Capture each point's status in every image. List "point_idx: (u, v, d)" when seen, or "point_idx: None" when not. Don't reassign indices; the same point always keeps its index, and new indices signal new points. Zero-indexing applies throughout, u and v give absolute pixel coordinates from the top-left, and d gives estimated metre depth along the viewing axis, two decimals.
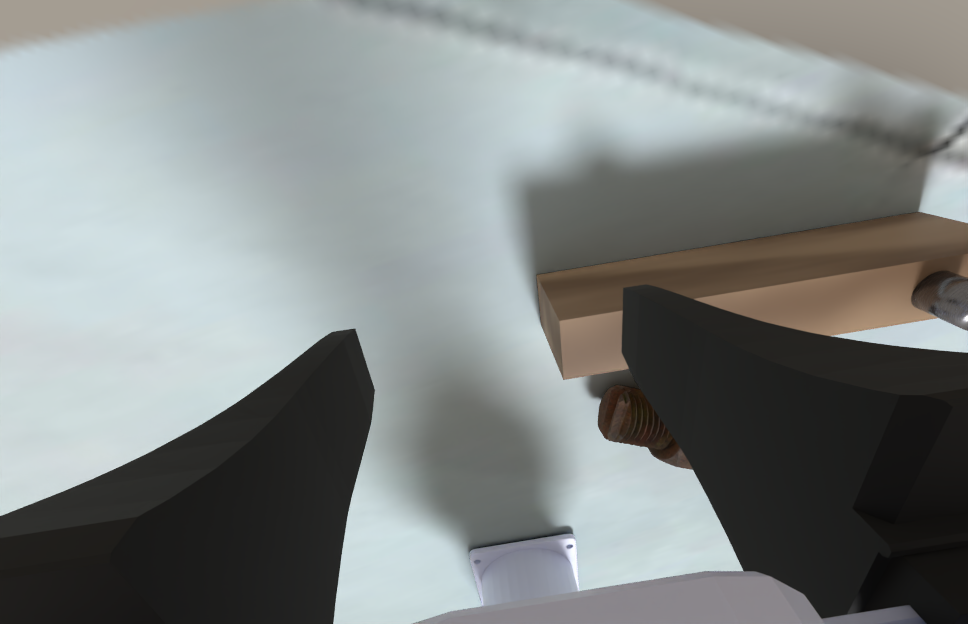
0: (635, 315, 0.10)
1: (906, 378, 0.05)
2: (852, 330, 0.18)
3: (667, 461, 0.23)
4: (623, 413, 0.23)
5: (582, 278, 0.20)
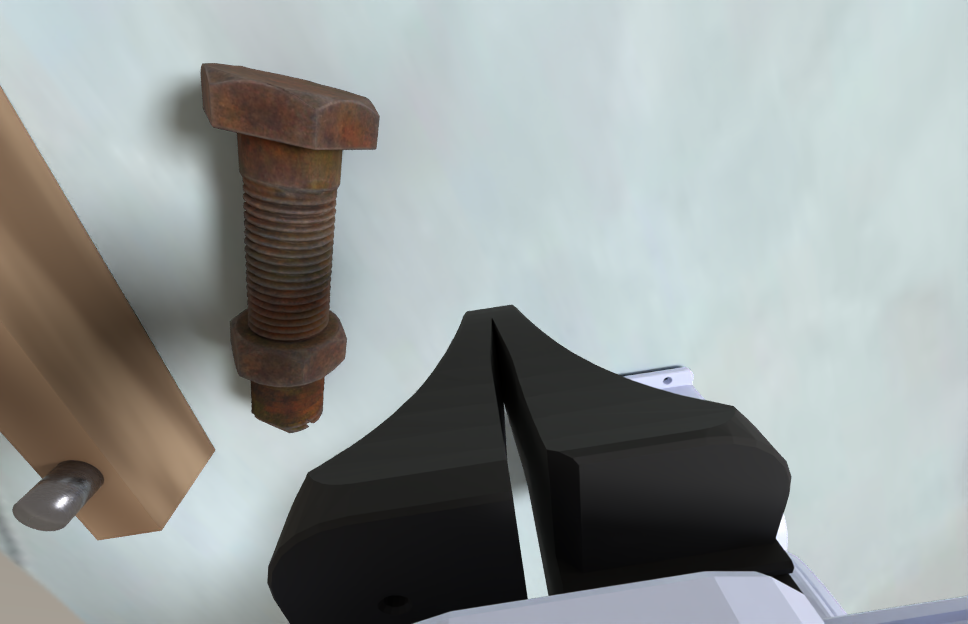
0: (494, 337, 0.10)
1: (589, 427, 0.04)
2: None
3: (308, 383, 0.18)
4: None
5: None
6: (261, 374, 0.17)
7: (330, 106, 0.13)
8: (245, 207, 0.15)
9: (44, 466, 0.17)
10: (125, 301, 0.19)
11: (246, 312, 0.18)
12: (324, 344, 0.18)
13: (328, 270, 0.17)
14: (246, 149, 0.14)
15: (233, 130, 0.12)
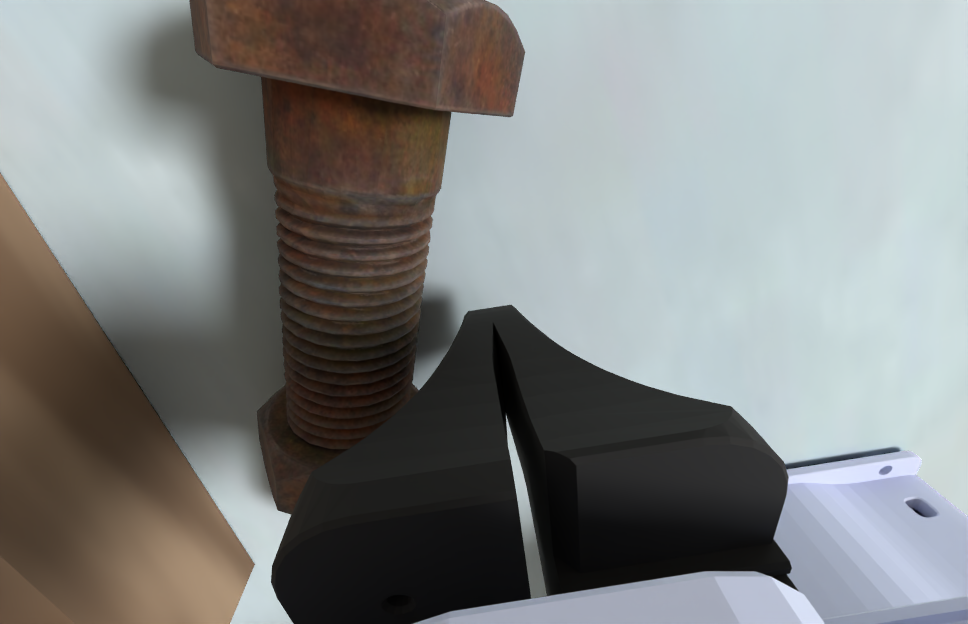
0: None
1: (587, 427, 0.04)
2: None
3: None
4: None
5: None
6: None
7: (469, 12, 0.06)
8: (281, 234, 0.08)
9: None
10: (131, 380, 0.13)
11: (282, 395, 0.12)
12: None
13: (416, 329, 0.10)
14: (283, 122, 0.07)
15: (260, 72, 0.05)
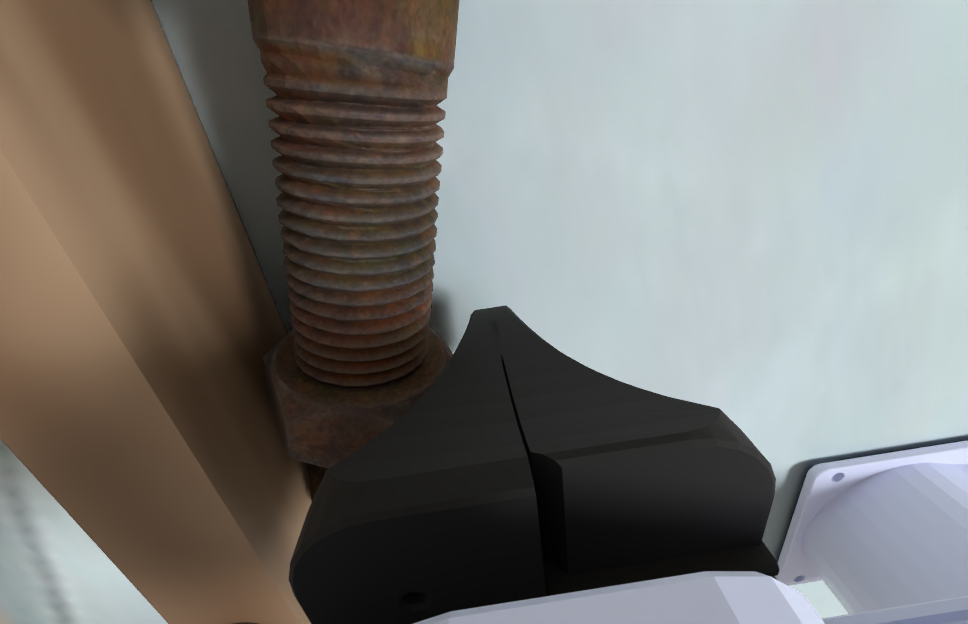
0: None
1: (575, 429, 0.04)
2: (121, 351, 0.07)
3: None
4: None
5: None
6: (330, 452, 0.09)
7: None
8: (273, 124, 0.07)
9: None
10: None
11: (289, 339, 0.11)
12: None
13: (433, 248, 0.09)
14: None
15: None
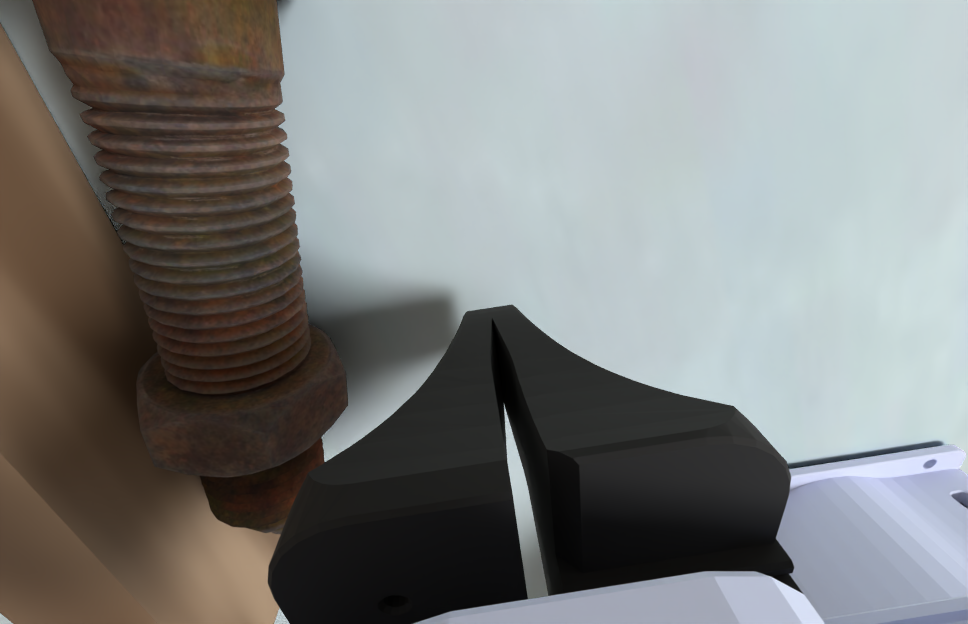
0: (494, 337, 0.10)
1: (589, 427, 0.04)
2: None
3: (285, 461, 0.10)
4: None
5: None
6: (193, 460, 0.09)
7: None
8: (89, 136, 0.07)
9: None
10: None
11: None
12: (303, 390, 0.10)
13: (290, 254, 0.09)
14: None
15: None
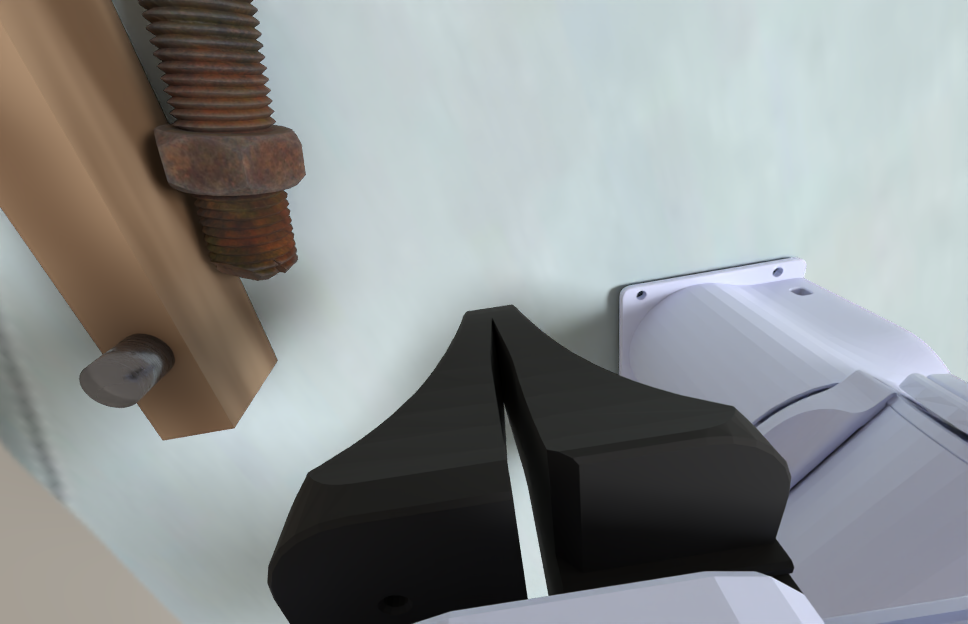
0: (494, 337, 0.10)
1: (589, 427, 0.04)
2: (26, 73, 0.11)
3: (258, 192, 0.14)
4: (227, 268, 0.16)
5: None
6: (193, 176, 0.14)
7: None
8: None
9: (109, 342, 0.15)
10: None
11: None
12: (267, 136, 0.14)
13: (253, 31, 0.13)
14: None
15: None
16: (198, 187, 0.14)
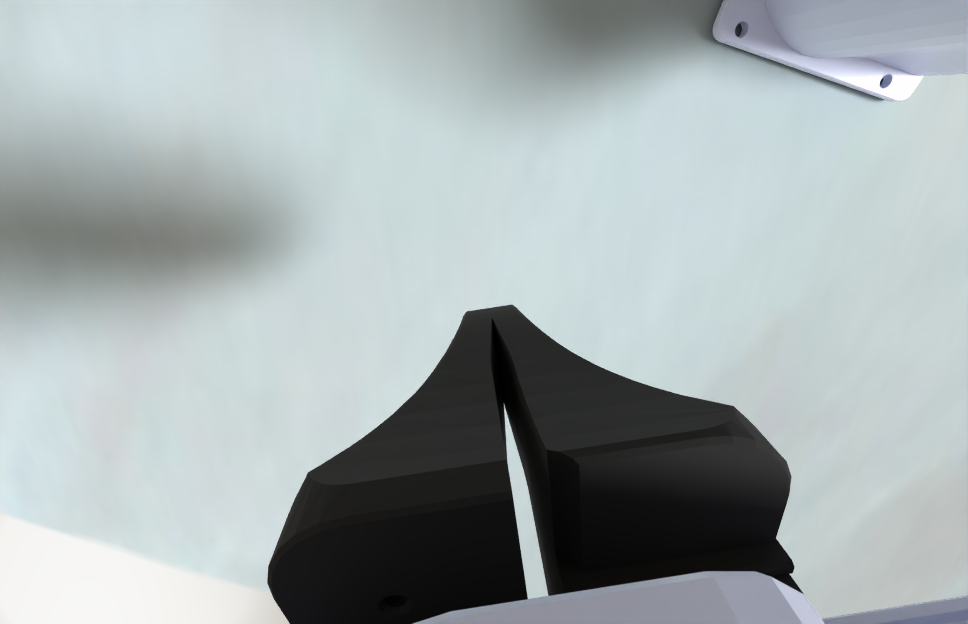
0: (494, 337, 0.10)
1: (589, 427, 0.04)
2: None
3: None
4: None
5: None
6: None
7: None
8: None
9: None
10: None
11: None
12: None
13: None
14: None
15: None
16: None
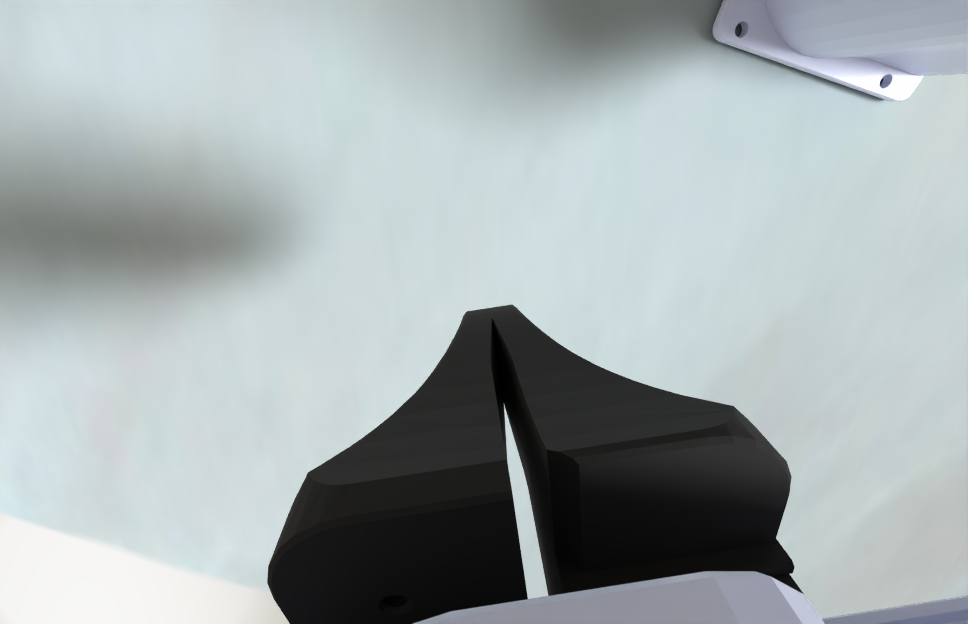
0: (494, 337, 0.10)
1: (589, 427, 0.04)
2: None
3: None
4: None
5: None
6: None
7: None
8: None
9: None
10: None
11: None
12: None
13: None
14: None
15: None
16: None
